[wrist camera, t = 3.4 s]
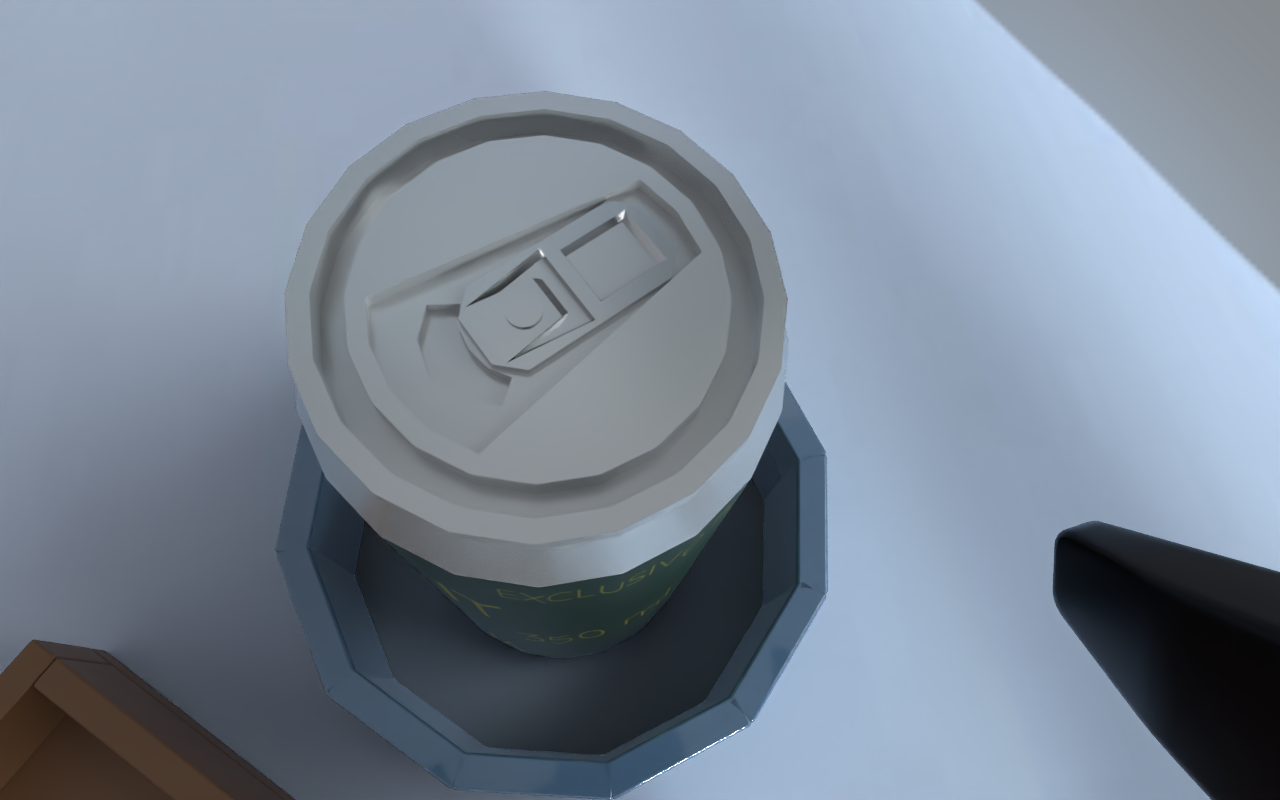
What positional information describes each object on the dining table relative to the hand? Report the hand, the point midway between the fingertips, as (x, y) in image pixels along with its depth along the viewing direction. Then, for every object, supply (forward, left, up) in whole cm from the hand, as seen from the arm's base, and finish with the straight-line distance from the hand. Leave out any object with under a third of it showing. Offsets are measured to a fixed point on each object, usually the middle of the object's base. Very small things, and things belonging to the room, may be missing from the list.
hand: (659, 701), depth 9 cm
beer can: (+3, -2, -11) cm, 12 cm away
